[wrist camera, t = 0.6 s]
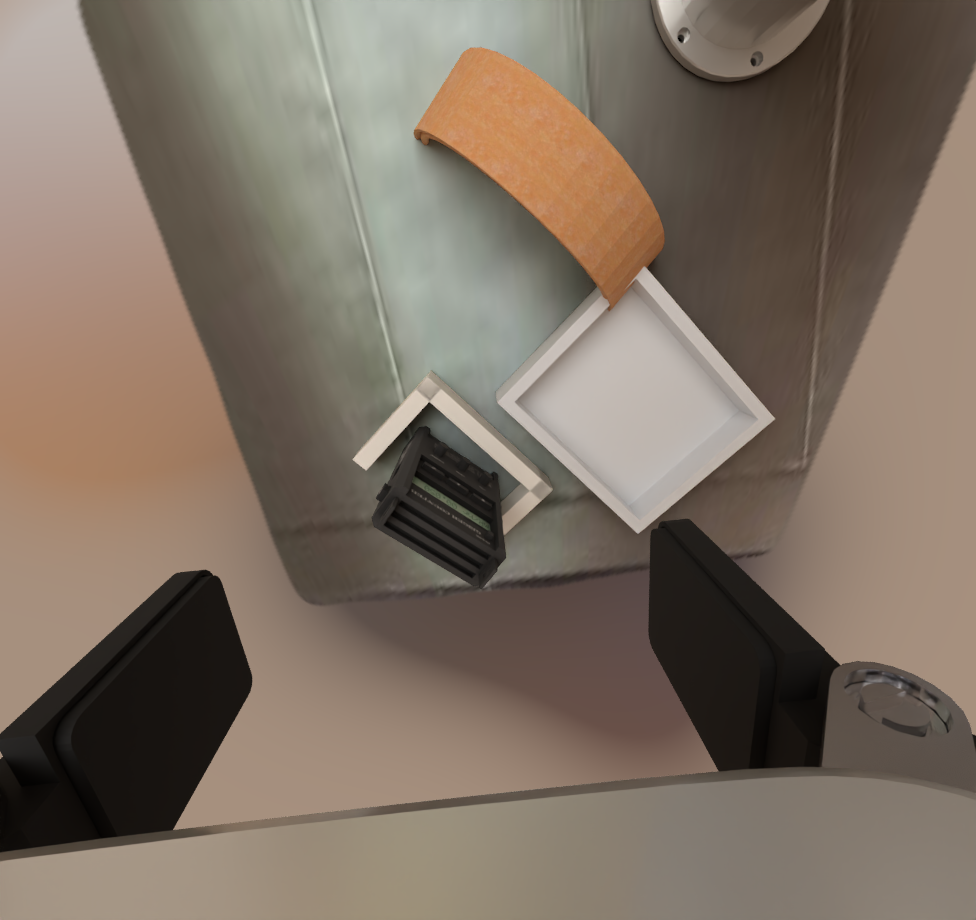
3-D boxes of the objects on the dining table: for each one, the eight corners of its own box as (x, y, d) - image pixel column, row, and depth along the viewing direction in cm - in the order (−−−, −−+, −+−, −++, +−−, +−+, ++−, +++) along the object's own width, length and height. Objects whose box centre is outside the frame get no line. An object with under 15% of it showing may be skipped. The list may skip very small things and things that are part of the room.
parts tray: (622, 260, 38) (637, 257, 34) (749, 407, 42) (775, 419, 38) (495, 392, 41) (497, 402, 38) (625, 513, 46) (638, 533, 42)
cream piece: (431, 370, 41) (427, 376, 38) (548, 477, 44) (553, 490, 42) (360, 448, 43) (352, 459, 40) (477, 543, 47) (477, 559, 44)
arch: (605, 313, 39) (640, 316, 29) (415, 139, 35) (385, 78, 26) (654, 255, 37) (708, 238, 28) (462, 67, 34) (449, -26, 24)
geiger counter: (514, 474, 44) (530, 561, 30) (486, 508, 45) (489, 607, 31) (423, 412, 42) (395, 476, 28) (396, 450, 43) (357, 529, 29)
